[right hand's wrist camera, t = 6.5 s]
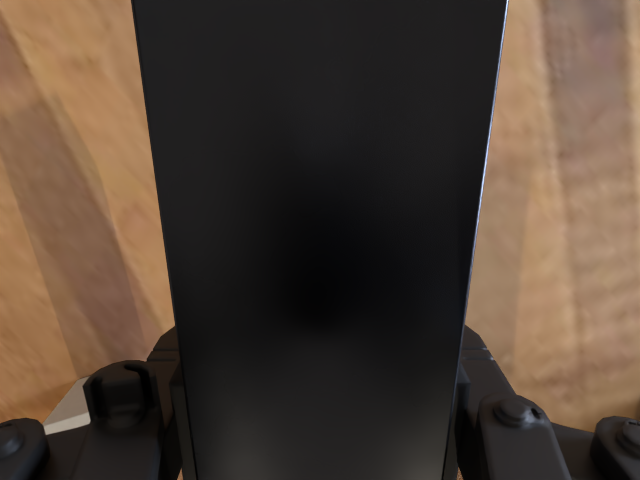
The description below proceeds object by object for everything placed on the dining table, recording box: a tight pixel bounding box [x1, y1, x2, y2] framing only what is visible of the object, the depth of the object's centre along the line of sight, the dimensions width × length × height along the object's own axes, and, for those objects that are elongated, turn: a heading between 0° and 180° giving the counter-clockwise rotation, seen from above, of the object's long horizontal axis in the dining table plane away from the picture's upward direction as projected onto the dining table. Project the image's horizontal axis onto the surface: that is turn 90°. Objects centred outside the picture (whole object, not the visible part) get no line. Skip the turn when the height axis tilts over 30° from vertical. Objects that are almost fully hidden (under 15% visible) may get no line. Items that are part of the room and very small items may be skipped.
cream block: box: [42, 376, 91, 435], centre depth 32 cm, size 5×5×5 cm
